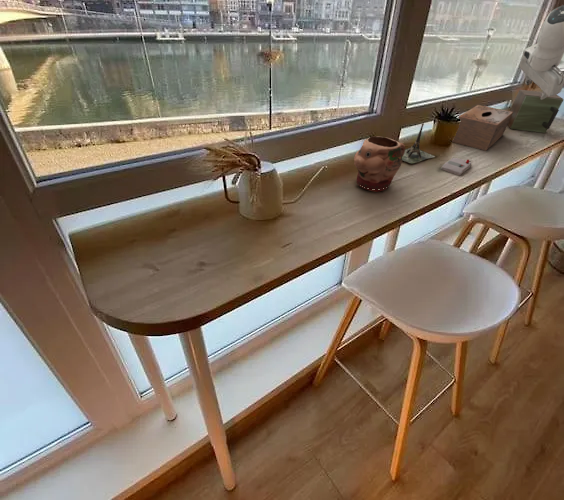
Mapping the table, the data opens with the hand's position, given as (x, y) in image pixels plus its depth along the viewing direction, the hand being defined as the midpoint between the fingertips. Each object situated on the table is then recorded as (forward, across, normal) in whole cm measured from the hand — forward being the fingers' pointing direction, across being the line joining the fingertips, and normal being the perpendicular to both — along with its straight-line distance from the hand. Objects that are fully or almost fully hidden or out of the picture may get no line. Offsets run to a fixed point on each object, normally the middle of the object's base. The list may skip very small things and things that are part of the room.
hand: (535, 90), depth 127 cm
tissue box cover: (+12, -2, +21) cm, 24 cm away
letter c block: (+27, +1, -6) cm, 28 cm away
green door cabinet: (+32, +9, -8) cm, 34 cm away
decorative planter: (-27, -34, +72) cm, 84 cm away
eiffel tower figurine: (-10, -16, +54) cm, 57 cm away
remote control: (-8, -27, +42) cm, 51 cm away
